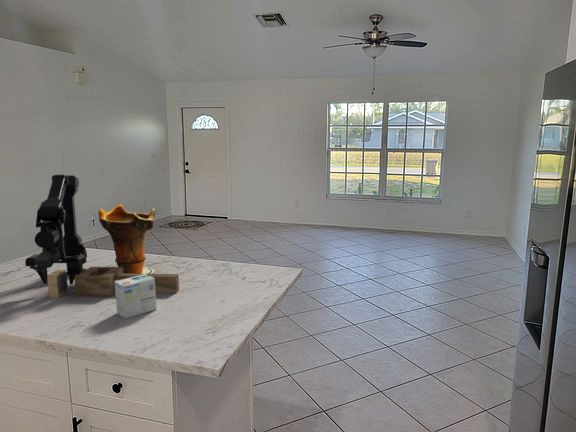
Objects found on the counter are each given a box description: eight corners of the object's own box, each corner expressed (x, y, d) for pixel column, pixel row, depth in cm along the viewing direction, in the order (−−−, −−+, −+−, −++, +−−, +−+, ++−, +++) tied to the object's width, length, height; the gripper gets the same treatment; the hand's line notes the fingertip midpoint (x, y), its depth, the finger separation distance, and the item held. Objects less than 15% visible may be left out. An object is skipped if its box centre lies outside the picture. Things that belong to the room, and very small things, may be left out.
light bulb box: (147, 304, 141) (145, 272, 139) (157, 309, 136) (155, 277, 134) (115, 313, 133) (113, 280, 131) (125, 319, 129) (122, 285, 127)
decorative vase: (147, 282, 160) (139, 209, 156) (92, 282, 164) (82, 211, 159) (171, 266, 181) (164, 201, 176) (121, 266, 184) (113, 202, 180)
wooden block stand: (92, 284, 159) (91, 266, 158) (182, 285, 158) (181, 267, 157) (76, 296, 147) (74, 277, 146) (173, 297, 146) (172, 278, 145)
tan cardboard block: (59, 291, 152) (57, 269, 151) (68, 291, 152) (66, 269, 151) (49, 297, 147) (47, 275, 145) (59, 297, 146) (57, 275, 145)
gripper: (11, 246, 138) (17, 292, 141) (68, 247, 138) (72, 292, 141) (33, 238, 149) (37, 281, 152) (85, 239, 149) (89, 281, 152)
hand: (58, 284), depth 149 cm, fingers open, 9 cm apart
